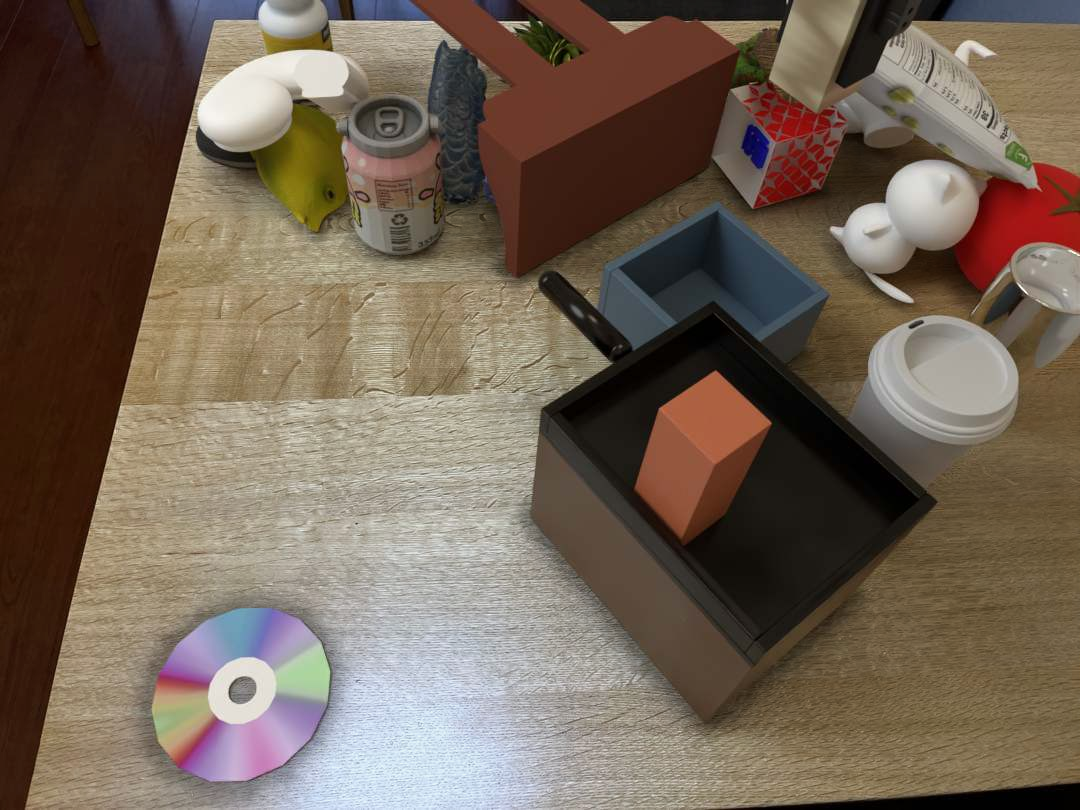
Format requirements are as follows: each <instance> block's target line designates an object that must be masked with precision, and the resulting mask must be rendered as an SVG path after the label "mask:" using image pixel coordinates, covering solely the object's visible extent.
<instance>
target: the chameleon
mask: <svg viewBox="0 0 1080 810" xmlns="http://www.w3.org/2000/svg"><path fill="white" fill-rule="evenodd" d="M779 29H780V28H779ZM779 29H778V28H777V27H774V28H770V27H765V28H762V29H761V30H759V31H758V32H756V33H755V34H754V35H753V36H751V37H750V38H748V39H747V40H746V41H740V42H737V43H735V44H734V45H735V46H736V47H738V48H739V49H740V54H739V57H738V61H737V64H736V68H735V72H734V75H733V79H732V83H731V86H730V89H734V88H738V87H742V86H746V85H750V84H754V83H758V82H766V81H770V80H769V77H770V74H771V71H772V67H773V64H774V61H775V58H776V55H777V52H778V49H779V45H780V44H779V43H778V42H776V39H777V35H778V32H779ZM773 86H774V89H775V90H776V91H777V93H778V94H779V95H780V97H781V98H782V99H784V100H785V101H788V102H790V103H800V102H799V101H798V100H797V99H795V98H794V97H792V96H791V95H790V94H788V93H787V92H786V91H784V90H783V89H781V88H780V87H779V86H777V85H776V84H775V83H773ZM729 92H730V90H729Z"/></svg>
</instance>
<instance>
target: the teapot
mask: <svg viewBox="0 0 1080 810" xmlns="http://www.w3.org/2000/svg"><path fill="white" fill-rule="evenodd" d="M971 53H974V54H976V55H978V56H980V57H981V58H982V59H983V60H985V61H994V60H997V59H998V58H999V57H1000V55H999V54H997V53H995V52H994V51H992V50H991V49H989V48H987V47H986V46H984V45H982V43H980V42H977V40H976V41H975V40H974V39H967V40H965V41H963V42H962V43H961V44H960V45H958V47H957V49H956V50H955V51H954V53H953V54H954V55H955V56H956V57H958V58H959V59H960V60H961V61H962V62H963V63H965V64H966V65H967V66H968V67H969V61H970V54H971ZM833 106H834V107H835V108H836V109H837V111H838V112H839V113H840V114H841V115H842V116H843V117H844V118H845V119H846V120H847V121H848V122H849V124H848V127H847V129H846V131H845V134H859V133H862V134H863V143H864V144H865V145H866V146H867V147H870V148H873V149H874V148H875V149H889V148H894V147H895V148H896V147H899V146H902V145H905V144H907V143H908V142H910V141H911V140H913V139H914V137H915V136H916V134H915V133H914V132H912V131H911V130H909V129H908V128H906V127H905V126H903V125H902V124H900V123H899V122H898V121H896V120H895V119H893V118H892V117H890V116H889V115H887V114H886V113H885V112H883V111H882V110H880V109H879V108H878V107H876V106H875V105H873V104H872V103H871V102H869V101H868V100H867V99H865V98H864V97H863V96H861V95H860V94H859V93H857V92H856V93H854V94H852V95H850V96H848V97H846V98H845V99H843V100H841V101H839V102H837V103H836V104H834V105H833Z"/></svg>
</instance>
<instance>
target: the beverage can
mask: <svg viewBox="0 0 1080 810" xmlns="http://www.w3.org/2000/svg"><path fill="white" fill-rule="evenodd" d="M336 123H337V126H336V128H337V131H338V132H339V133H340V136H344V138H343V142H342V146H341V148H342V154H343V160H344V166H345V172H346V178H347V184H348V190H349V194H348V196H349V200H350V208H351V213H352V219H353V225H354V229H355V232H356V233H357V235H358V236H359V238H360V239H361V241H362V242H363V243H364V244H365V245H366V246H368V247H370V248H371V249H372V250H375V251H377V252H381V253H383V254H387V255H393V256H405V255H412V254H415V253H417V252H420V251H423V250H425V249H426V248H428V247H429V246H431V245H432V244H433V243H434V242H436V241H437V239H438V238H439V236H440V235H441V234H442V231H443V229H444V225H445V220H446V216H445V201H444V192H443V171H442V151H441V142H440V139H439V136H438V134H439V130H440V129H441V127H442V124H441V121H440V120H439V119H438V117H437V116H435V115H433V114H429V112H428V108H427V107H425V105H424V104H423V103H422V102H420V101H418V100H416V99H415V98H414V97H410V96H407V95H404V94H400V93H399V94H397V93H382V94H374V95H372V96H368V98H366V99H364V100H362V101H360V102H359V103H357V104H356V105H355V106H354V107H353V108H352V109H351V111H350V112H348V115H347V116H345V117H343V118H339V119H338V122H336Z"/></svg>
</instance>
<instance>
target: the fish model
mask: <svg viewBox="0 0 1080 810" xmlns="http://www.w3.org/2000/svg"><path fill="white" fill-rule="evenodd" d="M487 89H488V80H487V77H486V74H485V72H484V71H483V70H482V69H481V68H480V67H479V59H478V58H476V57H475V56H474V55H473V54H472V53H470V52H469V51H468V50H467V49H466V48H465V47H463V46H462V45H461V44H460V47H459V48H458V49H457V48H450V46H449V45H448V42H447V41H446V39H445V38H444V39H442V40H441V41H440V43H439V44H438V46H437V48H436V52H435V54H434V63H433V68H432V73H431V80H430V85H429V89H428V95H427V110H428V112H429V114H433V115H435V116H437V117H438V119H439V120H440V121H441V124H442V127H441V129H440V130H439V134H438V136H439V139H440V142H441V151H442V171H443V192H444V202H445V203H448V204H452V205H463V204H464V205H471V206H472V205H473V204H474V202H476V201H477V200H478V198H479V193H481V191H482V187H483V185H484V182H483V180H484V179H486V175H485V173H484V170H483V166H482V163H481V159H480V154H479V145H478V124H479V123H481V122H483V121H485V120H486V119H485V117H484V114H483V104H484V101H485V100H486V99H487V97H486V92H487V91H486V90H487Z"/></svg>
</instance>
